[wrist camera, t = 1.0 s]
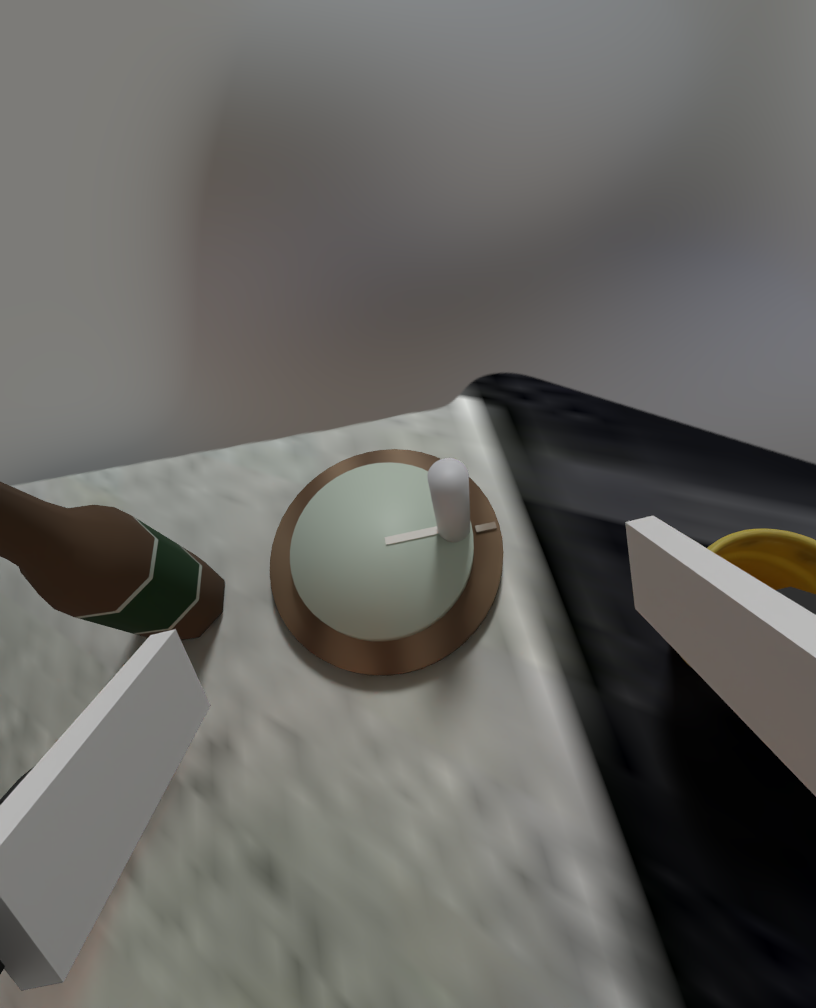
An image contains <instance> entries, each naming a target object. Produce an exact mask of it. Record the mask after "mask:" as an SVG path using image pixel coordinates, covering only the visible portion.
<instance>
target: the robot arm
mask: <svg viewBox="0 0 816 1008" xmlns="http://www.w3.org/2000/svg"><path fill="white" fill-rule="evenodd" d="M625 523H626V532H627V541H628V550H629V559H630V568H631V576H632V585H633V594H634V603H635V609H636V610H637V611H638V612H639V613H640V614H641V615H642V616H643V617H644V618H645V619H646V620H647V621H648V622H649V623H650V624H651V625H652V626H653V627H654V629H655V630H656V631H657V632H658V633H659V634H660V635H661V636H662V637H663V638H664V639H665V640H666V641H667V642H668V643H669V644H670V645H671V646H672V647H673V648H674V649H675V650H676V651H677V652H678V654H679V655H680V656H681V657H682V658H683V659H684V660H685V661H686V662H687V663H688V664H689V665H690V666H691V667H692V668H693V669H694V670H695V671H696V672H697V673H698V674H699V675H700V676H701V677H702V679H703V680H704V681H705V682H706V683H707V684H708V685H709V686H710V687H711V688H712V689H713V690H714V691H715V692H716V693H717V694H718V695H719V696H720V697H721V698H722V699H723V700H724V701H725V702H726V704H727V705H728V706H729V707H730V708H731V709H732V710H733V711H734V712H735V713H736V714H737V715H738V716H739V717H740V718H741V719H742V720H743V721H744V722H745V723H746V724H747V725H748V726H749V727H750V729H751V730H752V731H753V732H754V733H755V734H756V735H757V736H758V737H759V738H760V739H761V740H762V741H763V742H764V743H765V744H766V745H767V746H768V747H769V748H770V749H771V750H772V751H773V752H774V754H775V755H776V756H777V757H778V758H779V759H780V760H781V761H782V762H783V763H784V764H785V765H786V766H787V767H788V768H789V769H790V770H791V771H792V772H793V773H794V774H795V775H796V776H797V777H798V779H799V780H800V781H801V782H802V783H803V784H804V785H805V786H806V787H807V788H808V789H809V790H810V791H811V792H812V793H813V794H814V795H815V796H816V594H813V593H810V592H806V591H803V590H800V589H797V588H793V587H787V588H782V589H778V590H774V589H772V588H771V587H769V586H767V585H766V584H764V583H763V582H761V581H759V580H758V579H756V578H754V577H753V576H751V575H749V574H748V573H746V572H745V571H743V570H741V569H740V568H738V567H736V566H735V565H733V564H731V563H730V562H728V561H726V560H725V559H723V558H722V557H720V556H718V555H717V554H715V553H713V552H712V551H710V550H708V549H707V548H705V547H704V546H702V545H700V544H699V543H697V542H695V541H694V540H692V539H690V538H689V537H687V536H686V535H684V534H682V533H681V532H679V531H677V530H676V529H674V528H672V527H671V526H669V525H668V524H666V523H664V522H663V521H661V520H659V519H658V518H656V517H654V516H650V517H646V518H641V519H637V520H633V521H629V522H625ZM210 706H211V705H210V703H209V701H208V699H207V696H206V694H205V692H204V690H203V688H202V686H201V683H200V681H199V679H198V677H197V675H196V672H195V670H194V668H193V666H192V664H191V662H190V659H189V657H188V655H187V653H186V651H185V648H184V646H183V644H182V642H181V640H180V638H179V635H178V633H177V631H176V629H174V630H170V631H166V632H161V633H157V634H153V635H150V636H149V637H148V639H147V640H146V641H145V642H144V643H143V644H142V645H141V646H140V648H139V649H138V650H137V651H136V652H135V653H134V654H133V656H132V657H131V658H130V659H129V660H128V661H127V662H126V663H125V665H124V666H123V667H122V668H121V669H120V670H119V671H118V673H117V674H116V675H115V676H114V677H113V678H112V679H111V680H110V682H109V683H108V684H107V685H106V686H105V687H104V688H103V690H102V691H101V692H100V693H99V694H98V695H97V696H96V697H95V699H94V700H93V701H92V702H91V703H90V704H89V705H88V706H87V708H86V709H85V710H84V711H83V712H82V713H81V714H80V716H79V717H78V718H77V719H76V720H75V721H74V722H73V723H72V725H71V726H70V727H69V728H68V729H67V730H66V731H65V733H64V734H63V735H62V736H61V737H60V738H59V739H58V740H57V742H56V743H55V744H54V745H53V746H52V747H51V748H50V750H49V751H48V752H47V753H46V754H45V755H44V756H43V757H42V759H41V760H40V761H39V762H38V763H37V764H36V765H35V766H34V767H33V768H32V769H30V770H29V771H28V772H27V773H26V774H24V775H23V776H22V777H21V778H20V779H18V781H17V782H16V783H15V784H14V785H13V786H12V787H11V788H10V790H9V791H8V792H7V793H6V794H5V795H4V796H3V797H2V799H1V800H0V974H1V972H2V971H3V969H5V970H6V972H7V973H8V974H9V975H10V977H11V978H12V979H13V980H14V982H15V983H16V984H17V986H18V987H19V988H20V989H21V991H22V990H27V989H32V988H37V987H42V986H47V985H52V984H57V983H62V982H64V980H65V978H66V976H67V975H68V973H69V971H70V969H71V967H72V965H73V963H74V961H75V960H76V958H77V956H78V954H79V952H80V950H81V948H82V946H83V944H84V943H85V941H86V939H87V937H88V935H89V933H90V931H91V929H92V928H93V926H94V924H95V922H96V920H97V918H98V916H99V914H100V913H101V911H102V909H103V907H104V905H105V903H106V901H107V899H108V897H109V896H110V894H111V892H112V890H113V888H114V886H115V884H116V882H117V881H118V879H119V877H120V875H121V873H122V871H123V869H124V867H125V865H126V864H127V862H128V860H129V858H130V856H131V854H132V852H133V850H134V849H135V847H136V845H137V843H138V841H139V839H140V837H141V835H142V833H143V832H144V830H145V828H146V826H147V824H148V822H149V820H150V818H151V817H152V815H153V813H154V811H155V809H156V807H157V805H158V803H159V801H160V800H161V798H162V796H163V794H164V792H165V790H166V788H167V786H168V785H169V783H170V781H171V779H172V777H173V775H174V773H175V771H176V770H177V768H178V766H179V764H180V762H181V760H182V758H183V756H184V754H185V753H186V751H187V749H188V747H189V745H190V743H191V741H192V739H193V738H194V736H195V734H196V732H197V730H198V728H199V726H200V724H201V722H202V721H203V719H204V717H205V715H206V713H207V711H208V709H209V707H210Z"/></svg>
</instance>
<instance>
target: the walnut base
mask: <svg viewBox="0 0 816 1008" xmlns="http://www.w3.org/2000/svg"><path fill="white" fill-rule="evenodd" d="M438 460H440V459H439V458H437V457H435V456H432V455H428V454H425V453H422V452H416V451H410V450H398V449H392V450H379V451H373V452H367V453H364V454H360V455H356V456H353V457H351V458H348V459H346V460H343V461H341V462H339V463H337V464H335V465H334V466H332V467H330V468H328V469H327V470H325V471H324V472H322V473H321V474H319V475H318V476H317V477H316V478H314V479H313V480H312V481H311V482H310V483H309V484H307V485H306V487H305V488H304V489H303V490H302V491H301V492H300V493H299V494H298V495H297V496H296V498H295V499H294V501H293V502H292V503H291V505H290V506H289V507H288V509H287V511H286V513H285V514H284V516H283V518H282V520H281V522H280V525H279V527H278V529H277V532H276V535H275V538H274V542H273V545H272V551H271V558H270V580H271V589H272V593H273V597H274V601H275V604H276V606H277V608H278V611H279V613H280V616H281V618H282V619H283V621H284V623H285V624H286V626H287V628H288V629H289V630H290V632H291V633H292V634H293V635H294V637H295V638H296V639H297V640H298V641H299V642H300V643H301V644H302V645H303V646H304V647H305V648H306V649H308V650H309V651H310V652H312V653H313V654H314V655H316V656H317V657H319V658H320V659H322V660H324V661H326V662H328V663H330V664H332V665H334V666H337V667H339V668H341V669H345V670H348V671H351V672H354V673H359V674H366V675H381V676H389V675H397V674H404V673H408V672H412V671H416V670H419V669H422V668H425V667H427V666H429V665H432V664H434V663H436V662H438V661H440V660H441V659H443V658H445V657H446V656H448V655H450V654H451V653H453V652H454V651H455V650H456V649H458V648H459V647H460V646H461V645H463V644H464V643H465V642H466V641H467V640H468V639H469V638H470V637H471V636H472V634H473V633H474V632H475V631H476V630H477V629H478V627H479V626H480V624H481V623H482V622H483V620H484V619H485V617H486V616H487V614H488V612H489V610H490V608H491V606H492V604H493V602H494V599H495V596H496V594H497V591H498V588H499V583H500V578H501V574H502V565H503V543H502V536H501V531H500V526H499V523H498V520H497V518H496V515H495V512H494V510H493V508H492V506H491V504H490V503H489V501H488V499H487V497H486V496H485V495H484V493H483V492H482V491H481V489H480V488H479V487H478V486H477V485H476V484H475V483H474V481H473V480H472V479H471V478H470V477H469V502H470V521H471V525H472V531H473V543H474V556H473V565H472V569H471V573H470V577H469V579H468V582H467V584H466V587H465V589H464V590H463V592H462V594H461V596H460V597H459V599H458V600H457V602H456V603H455V604H454V606H453V607H452V608H451V609H450V610H449V611H448V612H447V613H446V614H445V615H444V616H443V617H442V618H441V619H440V620H438V621H437V622H436V623H434V624H433V625H432V626H430V627H428V628H426V629H425V630H423V631H421V632H419V633H416V634H414V635H412V636H409V637H405V638H402V639H398V640H392V641H366V640H359V639H356V638H352V637H349V636H346V635H344V634H342V633H340V632H338V631H336V630H334V629H333V628H331V627H330V626H328V625H327V624H325V623H324V622H322V621H321V620H320V619H319V618H318V617H316V616H315V615H314V614H313V613H312V612H311V611H310V610H309V608H308V607H307V606H306V605H305V603H304V602H303V600H302V599H301V597H300V595H299V594H298V591H297V589H296V587H295V584H294V581H293V577H292V574H291V567H290V547H291V540H292V536H293V532H294V529H295V526H296V524H297V521H298V519H299V517H300V515H301V513H302V512H303V510H304V508H305V507H306V505H307V504H308V503H309V501H310V500H311V499H312V498H313V497H314V496H315V494H316V493H317V492H318V491H319V490H320V489H322V488H323V487H324V486H325V485H326V484H327V483H329V482H330V481H332V480H333V479H335V478H336V477H338V476H340V475H342V474H343V473H345V472H347V471H350V470H352V469H355V468H358V467H361V466H365V465H369V464H375V463H387V462H391V463H403V464H408V465H412V466H416V467H419V468H422V469H424V470H426V471H429V469H430V467H431V466H432V465H433V464H434V463H435V462H436V461H438Z"/></svg>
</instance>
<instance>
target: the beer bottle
mask: <svg viewBox="0 0 816 1008" xmlns="http://www.w3.org/2000/svg"><path fill="white" fill-rule="evenodd" d="M0 556H1V557H3V558H5V559H7V560H9V561H11V562H12V563H14V564H16V565H17V566H19V569H20V571H21V573H22V574H23V575H24V577H25V578H26V579H27V580H28V582H29V583H30V584H31V585H32V587H33V588H34V589H35V590H36V591H37V593H38V594H39V595H40V596H41V597H42V598H43V599H44V600H45V601H46V602H47V603H48V604H50V605H51V606H52V607H53V608H54V609H56V610H58V611H61V612H63V613H66V614H68V615H71V616H73V617H76V618H80V619H83V620H87V621H90V622H94V623H97V624H101V625H105V626H108V627H112V628H115V629H119V630H122V631H126V632H130V633H133V634H137V635H140V636H144V637H147V638H148V637H149V636H150V635H153V634H157V633H161V632H166V631H170V630H174V629H176V631H177V633H178V635H179V638H180V640H183V639H190V638H197V637H200V636H201V635H202V633H203V632H204V631H205V630H206V629H207V628H208V627H209V626H210V625H211V624H212V622H213V621H214V620H215V619H216V618H217V617H218V616H219V615H220V614H221V613H222V610H223V596H224V583H225V582H224V579H222V578H221V577H220V576H219V575H218V574H217V573H216V572H215V571H214V570H213V569H212V568H211V567H209V566H208V565H207V564H206V563H205V562H204V561H203V560H201V559H200V558H199V557H197V556H196V555H194V554H193V553H191V552H189V551H188V550H186V549H185V548H183V547H181V546H180V545H178V544H177V543H175V542H173V541H172V540H170V539H168V538H167V537H165V536H164V535H162V534H160V533H159V532H157V531H156V530H154V529H152V528H151V527H149V526H147V525H146V524H144V523H143V522H141V521H139V520H138V519H136V518H135V517H133V516H131V515H129V514H127V513H125V512H123V511H121V510H119V509H117V508H115V507H108V506H100V505H89V506H82V507H74V508H65V507H61V506H58V505H55V504H52V503H48V502H45V501H43V500H40V499H38V498H36V497H34V496H31V495H29V494H27V493H25V492H22V491H20V490H18V489H16V488H13V487H11V486H9V485H7V484H4V483H2V482H0Z"/></svg>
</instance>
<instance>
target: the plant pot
mask: <svg viewBox="0 0 816 1008" xmlns="http://www.w3.org/2000/svg"><path fill="white" fill-rule="evenodd" d="M707 549H708V550H710V551H712V552H713V553H715V554H717V555H718V556H720V557H722V558H723V559H725V560H726V561H728V562H730V563H731V564H733V565H735V566H736V567H738V568H740V569H741V570H743V571H745V572H746V573H748V574H749V575H751V576H753V577H754V578H756V579H758V580H759V581H761V582H763V583H764V584H766V585H767V586H769V587H771V588H772V589H774V590H778V589H782V588H787V587H793V588H797V589H800V590H803V591H806V592H810V593H813V594H816V540H814V539H812V538H809V537H806V536H804V535H800V534H797V533H793V532H789V531H783V530H776V529H750V530H744V531H740V532H736V533H733V534H730V535H727V536H725V537H723V538H721V539H719V540H717V541H716V542H715V543H713V544H712V545H710V546H709V547H708V548H707ZM681 658H682V657H681ZM682 659H683V658H682ZM683 660H684V659H683ZM684 661H685V660H684ZM685 662H686V661H685ZM686 663H687V662H686ZM687 664H688V663H687ZM688 665H689V664H688ZM689 666H690V665H689ZM690 667H691V666H690Z"/></svg>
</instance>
